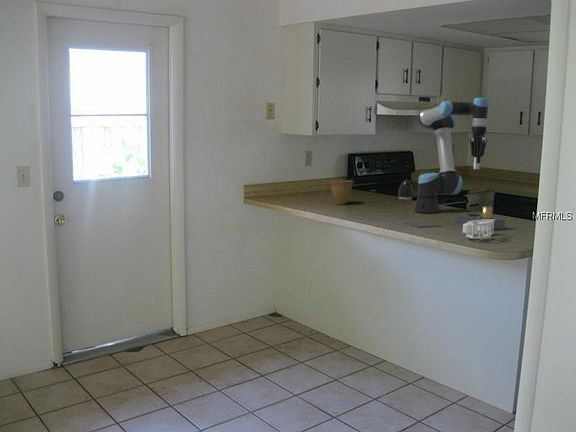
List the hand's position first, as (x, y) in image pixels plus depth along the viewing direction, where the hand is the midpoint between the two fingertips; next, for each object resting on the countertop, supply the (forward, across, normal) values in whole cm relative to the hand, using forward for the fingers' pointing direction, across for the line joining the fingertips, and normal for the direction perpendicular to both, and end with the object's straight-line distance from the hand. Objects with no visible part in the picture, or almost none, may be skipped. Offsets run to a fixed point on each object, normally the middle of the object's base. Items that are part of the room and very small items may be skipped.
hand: (476, 168), depth 335 cm
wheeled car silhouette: (+30, +39, -25) cm, 55 cm away
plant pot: (+30, -80, -45) cm, 96 cm away
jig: (+29, +15, -7) cm, 34 cm away
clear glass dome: (+30, -85, +7) cm, 90 cm away
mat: (+29, +5, -36) cm, 47 cm away
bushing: (+29, +20, -7) cm, 37 cm away
